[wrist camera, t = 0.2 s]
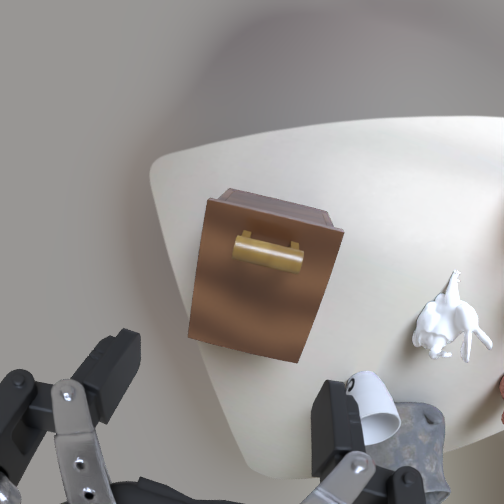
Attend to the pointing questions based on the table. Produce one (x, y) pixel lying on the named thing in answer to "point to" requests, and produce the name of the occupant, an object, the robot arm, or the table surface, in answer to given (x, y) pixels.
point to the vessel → (416, 447)
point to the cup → (374, 407)
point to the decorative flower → (503, 391)
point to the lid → (260, 279)
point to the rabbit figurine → (448, 323)
